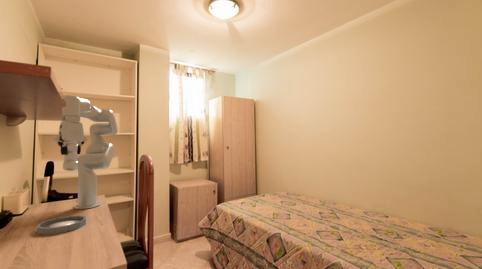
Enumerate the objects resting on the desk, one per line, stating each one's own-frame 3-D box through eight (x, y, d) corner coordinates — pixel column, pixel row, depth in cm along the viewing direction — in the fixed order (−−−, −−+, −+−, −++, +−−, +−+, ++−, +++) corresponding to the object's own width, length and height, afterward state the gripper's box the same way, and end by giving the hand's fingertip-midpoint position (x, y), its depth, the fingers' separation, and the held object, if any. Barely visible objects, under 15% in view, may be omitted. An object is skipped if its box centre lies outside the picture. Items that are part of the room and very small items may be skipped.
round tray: (28, 231, 98) (28, 225, 98) (71, 219, 113) (71, 214, 114) (51, 236, 91) (51, 230, 91) (94, 223, 106) (94, 217, 107)
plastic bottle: (79, 170, 118) (80, 131, 119) (63, 171, 113) (63, 131, 114) (77, 169, 123) (78, 132, 124) (61, 170, 118) (62, 132, 119)
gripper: (56, 117, 110) (56, 155, 109) (92, 120, 125) (92, 153, 125) (47, 118, 113) (47, 155, 112) (84, 121, 129) (83, 153, 128)
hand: (70, 154), depth 118 cm, fingers closed on plastic bottle, 6 cm apart
